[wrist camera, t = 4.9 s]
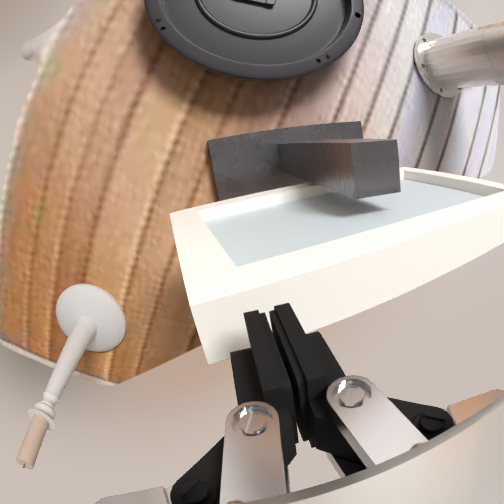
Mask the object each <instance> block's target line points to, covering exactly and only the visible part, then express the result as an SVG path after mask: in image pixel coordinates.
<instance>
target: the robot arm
mask: <svg viewBox="0 0 504 504" xmlns="http://www.w3.org/2000/svg"><path fill="white" fill-rule="evenodd" d="M414 57H415V63H416V66H417V69H418V71H419V73H420V75H421V77H422V79H423V81H424V82H425V83H426V85H427V86H428V87H429V88H430V89H431V90H432V91H433V92H435V93H436V94H438V95H440V96H442V97H455V96H456V95H458V94H459V93H460V92H461V91H462V89H463V88H464V87H476V86H491V85H504V22H500V23H496V24H491V25H487V26H483V27H478V28H474V29H470V30H466V31H463V32H459V33H455V34H452V35H448V36H445V37H442V36H441V35H439V34H436V33H426V34H424V35H422V36H420V37H419V38H418V39H417V41H416V44H415V48H414ZM243 314H244V319H245V324H246V328H247V333H248V338H249V342H250V347H251V348H247V349H243V350H238V351H233V352H230V357H231V363H232V370H233V377H234V383H235V389H236V395H237V401H238V406H237V407H235V408H234V409H233V410H232V411H231V412H230V413H229V415H228V416H227V419H226V424H225V436H224V437H223V438H222V439H221V440H220V441H219V442H218V443H217V444H216V445H215V446H214V447H213V448H212V449H211V450H210V451H209V452H208V453H206V454H205V456H203V457H202V458H201V459H200V460H199V461H198V462H197V463H196V464H195V465H194V466H193V467H192V468H191V469H190V470H188V471H187V472H186V473H185V474H184V475H183V476H182V477H181V478H180V479H179V480H177V482H176V483H175V484H174V485H173V486H172V487H168V488H163V487H162V486H160V487H156V488H152V489H147V490H143V491H138V492H132V493H127V494H122V495H115V496H109V497H105V498H102V499H100V500H99V501H98V502H97V503H96V504H504V391H503V390H498V389H496V390H491V391H489V392H486V393H483V394H481V395H478V396H475V397H472V398H470V399H467V400H464V401H461V402H458V403H455V404H451V405H449V406H448V407H447V409H441V408H438V407H433V406H428V405H422V404H417V403H412V402H407V401H402V400H398V399H393V398H388V397H386V396H385V395H384V394H383V393H382V392H381V391H380V390H379V389H378V388H377V387H376V386H375V385H374V383H373V382H371V381H370V380H369V379H367V378H364V377H361V376H354V375H353V376H345V374H344V372H343V370H342V369H341V367H340V365H339V364H338V362H337V361H336V359H335V357H334V355H333V354H332V352H331V350H330V349H329V347H328V345H327V344H326V342H325V340H324V339H323V337H322V335H321V334H320V333H319V332H318V331H317V332H313V333H310V334H306V333H305V331H304V330H303V328H302V326H301V324H300V322H299V320H298V318H297V316H296V315H295V313H294V311H293V309H292V307H291V305H290V303H285V304H281V305H276V306H274V310H272V311H269V315H270V321H271V327H272V330H271V328H270V325H269V322H268V320H267V317H266V314H265V312H263V313H259V311H258V310H254V311H249V312H245V313H243ZM296 422H297V424H296ZM297 425H298V428H299V431H300V434H301V437H302V439H303V441H307V440H309V442H310V444H311V447H312V448H313V447H316V449H319V450H322V451H325V452H326V454H327V456H328V458H329V460H330V461H331V463H332V465H333V466H334V468H335V469H336V471H337V472H338V474H339V475H340V477H341V478H340V479H337V480H334V481H331V482H327V483H324V484H321V485H318V486H314V487H311V488H307V489H303V490H300V491H296V492H290V481H289V470H288V465H289V464H290V462H291V461H292V460H293V458H294V457H295V456H296V454H297V453H296V446H295V444H296V443H298V442H299V441H298V433H297Z"/></svg>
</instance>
